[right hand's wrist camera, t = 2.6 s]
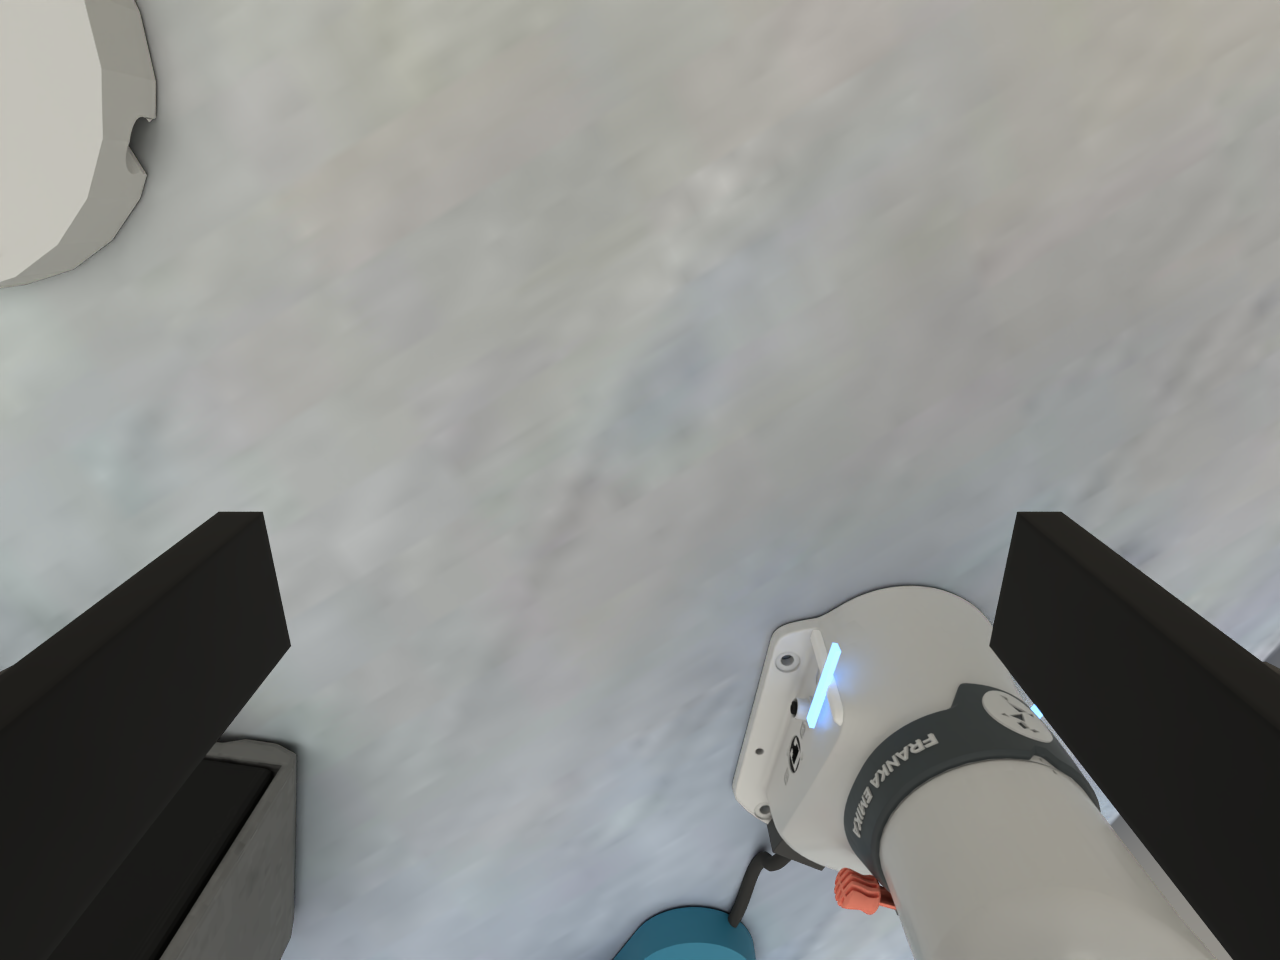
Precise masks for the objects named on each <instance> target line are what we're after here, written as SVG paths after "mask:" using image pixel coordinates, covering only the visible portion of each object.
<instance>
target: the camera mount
mask: <svg viewBox="0 0 1280 960" xmlns="http://www.w3.org/2000/svg"><path fill="white" fill-rule="evenodd" d="M728 916H729V914H727V913H724V912H722V911H718V910H715V909H710V908H702V907H686V908H678V909H673V910H669V911H666V912H663V913H661V914H658V915H656V916H654V917H653V918H651V919H649V920H648V921H646V922H645V923H644V924H643V925H641V926H640V927H639V929H638V930H637V931H636V932H635V933H634V935H633V936H632V937H631V938H630V940H629V941H628V942H627V943H626V944H625V946H624V947H623V948H622V949H621V951H620V952H619V953H618V954H617V956H616V957H615V958H614V959H613V960H756V957H755V951H754V944H753V940H752V937H751V935H750V933H749V932H748V930H747V929H746V927H745V926H744V925H743V924H742V923H741V922H740V923H739V924H738V926H737V927H736V928H734V927H732V926H731V925H730V923H729V922H728Z"/></svg>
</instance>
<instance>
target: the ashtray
mask: <svg viewBox="0 0 1280 960" xmlns="http://www.w3.org/2000/svg"><path fill="white" fill-rule="evenodd" d="M139 117H144V118H146V119H147V120H148V122H150V121H151V120H152V119H156V80H155V76H154V71H153V67H152V63H151V58H150V54H149V50H148V45H147V41H146V36H145V32H144V28H143V23H142V19H141V15H140V11H139V9H138V7H137V5H136V3H135V1H134V0H0V288H6V287H13V286H20V285H27V284H30V283H33V282H36V281H39V280H42V279H45V278H48V277H51V276H55V275H58V274H61V273H64V272H67V271H70V270H73V269H75V268H76V267H77V266H79V265H80V264H81V263H83V262H84V261H85V260H87V259H88V258H89V257H91V256H92V255H93V254H95V253H96V252H97V251H99V250H100V249H101V248H103V247H104V246H105V245H107V244H108V243H109V242H111V241H112V240H113V238H114V237H115V235H116V234H117V232H118V231H119V229H120V228H121V226H122V225H123V223H124V222H125V220H126V219H127V217H128V216H129V214H130V213H131V211H132V210H133V208H134V207H135V205H136V204H137V202H138V201H139V199H140V197H141V194H142V190H143V187H144V183H145V180H146V176H147V174H146V173H145V171H144V170H143V168H142V166H141V165H140V163H139V162H138V160H137V158H136V157H135V155H134V154H133V152H132V150H131V149H130V147H129V146H128V145H129V142H130V136H131V131H132V128H133V125H134V123H135V121H136V120H137V119H138V118H139Z"/></svg>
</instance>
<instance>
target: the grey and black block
mask: <svg viewBox="0 0 1280 960" xmlns="http://www.w3.org/2000/svg"><path fill="white" fill-rule="evenodd" d="M296 767H297V756H296V754H295V753H293V752H291V751H290V750H288V749H286V748H284V747H282V746H280V745H278V744H276V743H269V742H262V741H255V740H249V739H243V740H237V741H231V742H225V743H220V742H216V743H215V744H214V745H213V747H212V748H211V749H210V751H209V752H208V753H207V754H206V756H205V757H204V758H203V760H202V761H201V762H200V763H199V765H198V766H197V767H196V769H195V770H194V771H193V772H192V774H191V775H190V776H189V778H188V779H187V780H186V781H185V783H184V784H183V785H182V787H181V788H180V789H179V790H178V792H177V793H176V794H175V796H174V797H173V798H172V799H171V801H170V802H169V803H168V805H167V806H166V807H165V808H164V810H163V811H162V812H161V814H160V815H159V816H158V817H157V819H156V820H155V821H154V823H153V824H152V825H151V826H150V828H149V829H148V830H147V832H146V833H145V834H144V835H143V837H142V838H141V839H140V841H139V842H138V843H137V844H136V846H135V847H134V848H133V850H132V851H131V852H130V853H129V855H128V856H127V857H126V859H125V860H124V861H123V862H122V864H121V865H120V866H119V868H118V869H117V870H116V871H115V873H114V874H113V875H112V877H111V878H110V879H109V880H108V882H107V883H106V884H105V886H104V887H103V888H102V889H101V891H100V892H99V893H98V895H97V896H96V897H95V898H94V900H93V901H92V902H91V904H90V905H89V906H88V907H87V909H86V910H85V911H84V913H83V914H82V915H81V916H80V918H79V919H78V920H77V922H76V923H75V924H74V925H73V927H72V928H71V929H70V931H69V932H68V933H67V934H66V936H65V937H64V938H63V940H62V941H61V942H60V943H59V945H58V946H57V947H56V949H55V950H54V951H53V952H52V954H51V955H50V956H49V958H48V959H47V960H280V959H281V957H282V955H283V953H284V951H285V949H286V947H287V944H288V942H289V940H290V938H291V933H292V926H293V920H294V882H295V824H296Z"/></svg>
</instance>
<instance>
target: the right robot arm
mask: <svg viewBox="0 0 1280 960" xmlns="http://www.w3.org/2000/svg"><path fill="white" fill-rule="evenodd" d="M290 646H291V644H290V639H289V634H288V630H287V625H286V620H285V615H284V611H283V606H282V601H281V596H280V592H279V587H278V582H277V577H276V572H275V568H274V563H273V558H272V553H271V549H270V544H269V539H268V534H267V530H266V525H265V520H264V515H263V512H218V513H217V514H215V515H214V516H212V517H211V518H210V519H208V520H207V521H206V522H204V523H203V524H202V525H200V526H199V527H198V528H196V529H195V530H194V531H192V532H191V533H190V534H188V535H187V536H186V537H184V538H183V539H182V540H180V541H179V542H178V543H176V544H175V545H174V546H172V547H171V548H170V549H168V550H167V551H166V552H164V553H163V554H162V555H160V556H159V557H158V558H156V559H155V560H154V561H152V562H151V563H150V564H148V565H147V566H146V567H144V568H143V569H142V570H140V571H139V572H138V573H136V574H135V575H134V576H132V577H131V578H130V579H128V580H127V581H125V582H124V583H123V584H121V585H120V586H119V587H117V588H116V589H115V590H113V591H112V592H111V593H109V594H108V595H107V596H105V597H104V598H103V599H101V600H100V601H99V602H97V603H96V604H95V605H93V606H92V607H91V608H89V609H88V610H87V611H85V612H84V613H83V614H81V615H80V616H79V617H77V618H76V619H75V620H73V621H72V622H71V623H69V624H68V625H67V626H65V627H64V628H63V629H61V630H60V631H59V632H57V633H56V634H55V635H53V636H52V637H51V638H49V639H48V640H47V641H45V642H44V643H43V644H41V645H40V646H38V647H37V648H36V649H34V650H33V651H32V652H30V653H29V654H28V655H26V656H25V657H24V658H22V659H21V660H20V661H18V662H17V663H16V664H14V665H13V666H11V667H9V668H7V669H5V670H3V671H1V672H0V960H47V959H48V958H49V956H50V955H51V954H52V952H53V951H54V950H55V949H56V947H57V946H58V945H59V943H60V942H61V941H62V940H63V938H64V937H65V936H66V934H67V933H68V932H69V931H70V929H71V928H72V927H73V925H74V924H75V923H76V922H77V920H78V919H79V918H80V916H81V915H82V914H83V913H84V911H85V910H86V909H87V907H88V906H89V905H90V904H91V902H92V901H93V900H94V898H95V897H96V896H97V895H98V893H99V892H100V891H101V889H102V888H103V887H104V886H105V884H106V883H107V882H108V880H109V879H110V878H111V877H112V875H113V874H114V873H115V871H116V870H117V869H118V868H119V866H120V865H121V864H122V862H123V861H124V860H125V859H126V857H127V856H128V855H129V853H130V852H131V851H132V850H133V848H134V847H135V846H136V844H137V843H138V842H139V841H140V839H141V838H142V837H143V835H144V834H145V833H146V832H147V830H148V829H149V828H150V826H151V825H152V824H153V823H154V821H155V820H156V819H157V817H158V816H159V815H160V814H161V812H162V811H163V810H164V808H165V807H166V806H167V805H168V803H169V802H170V801H171V799H172V798H173V797H174V796H175V794H176V793H177V792H178V790H179V789H180V788H181V787H182V785H183V784H184V783H185V781H186V780H187V779H188V778H189V776H190V775H191V774H192V772H193V771H194V770H195V769H196V767H197V766H198V765H199V763H200V762H201V761H202V760H203V758H204V757H205V756H206V754H207V753H208V752H209V751H210V749H211V748H212V747H213V745H214V744H215V743H216V742H217V740H218V739H219V738H220V736H221V735H222V734H223V733H224V731H225V730H226V729H227V727H228V726H229V725H230V724H231V722H232V721H233V720H234V718H235V717H236V716H237V715H238V713H239V712H240V711H241V709H242V708H243V707H244V706H245V704H246V703H247V702H248V700H249V699H250V698H251V697H252V695H253V694H254V693H255V691H256V690H257V689H258V688H259V686H260V685H261V684H262V682H263V681H264V680H265V679H266V677H267V676H268V675H269V673H270V672H271V671H272V670H273V668H274V667H275V666H276V664H277V663H278V662H279V661H280V659H281V658H282V657H283V655H284V654H285V653H286V652H287V650H288V649H289V648H290ZM989 646H990V648H991V649H992V650H993V652H994V653H995V654H996V655H997V657H998V658H999V659H1000V661H1001V662H1002V663H1003V664H1004V666H1005V667H1006V668H1007V670H1008V671H1009V672H1010V673H1011V675H1012V676H1013V677H1014V679H1015V680H1016V681H1017V682H1018V684H1019V685H1020V686H1021V688H1022V689H1023V690H1024V691H1025V693H1026V694H1027V695H1028V697H1029V698H1030V699H1031V700H1032V702H1033V703H1034V704H1035V706H1036V707H1037V708H1038V709H1039V711H1040V712H1041V713H1042V715H1043V716H1044V717H1045V718H1046V720H1047V721H1048V722H1049V724H1050V725H1051V726H1052V727H1053V729H1054V730H1055V731H1056V733H1057V734H1058V735H1059V736H1060V738H1061V739H1062V740H1063V742H1064V743H1065V744H1066V745H1067V747H1068V748H1069V749H1070V751H1071V752H1072V753H1073V754H1074V756H1075V757H1076V758H1077V760H1078V761H1079V762H1080V763H1081V765H1082V766H1083V767H1084V769H1085V770H1086V771H1087V772H1088V774H1089V775H1090V776H1091V778H1092V779H1093V780H1094V781H1095V783H1096V784H1097V785H1098V787H1099V788H1100V789H1101V790H1102V792H1103V793H1104V794H1105V796H1106V797H1107V798H1108V799H1109V801H1110V802H1111V803H1112V805H1113V806H1114V807H1115V808H1116V810H1117V811H1118V812H1119V814H1120V815H1121V816H1122V817H1123V819H1124V820H1125V821H1126V823H1127V824H1128V825H1129V826H1130V828H1131V829H1132V830H1133V832H1134V833H1135V834H1136V835H1137V837H1138V838H1139V839H1140V841H1141V842H1142V843H1143V844H1144V846H1145V847H1146V848H1147V850H1148V851H1149V852H1150V853H1151V855H1152V856H1153V857H1154V859H1155V860H1156V861H1157V862H1158V864H1159V865H1160V866H1161V868H1162V869H1163V870H1164V871H1165V873H1166V874H1167V875H1168V877H1169V878H1170V879H1171V880H1172V882H1173V883H1174V884H1175V886H1176V887H1177V888H1178V889H1179V891H1180V892H1181V893H1182V895H1183V896H1184V897H1185V898H1186V900H1187V901H1188V902H1189V904H1190V905H1191V906H1192V907H1193V909H1194V910H1195V911H1196V913H1197V914H1198V915H1199V916H1200V918H1201V919H1202V920H1203V922H1204V923H1205V924H1206V925H1207V927H1208V928H1209V929H1210V931H1211V932H1212V933H1213V934H1214V936H1215V937H1216V938H1217V940H1218V941H1219V942H1220V943H1221V945H1222V946H1223V947H1224V949H1225V950H1226V951H1227V952H1228V954H1229V955H1230V956H1231V958H1232V959H1233V960H1280V669H1279V668H1277V667H1275V666H1273V665H1271V664H1269V663H1267V662H1262V661H1260V660H1259V659H1258V658H1256V657H1255V656H1254V655H1252V654H1251V653H1250V652H1248V651H1247V650H1246V649H1244V648H1243V647H1242V646H1240V645H1239V644H1237V643H1236V642H1235V641H1233V640H1232V639H1231V638H1229V637H1228V636H1227V635H1225V634H1224V633H1223V632H1221V631H1220V630H1219V629H1217V628H1216V627H1215V626H1213V625H1212V624H1211V623H1209V622H1208V621H1207V620H1205V619H1204V618H1203V617H1201V616H1200V615H1199V614H1197V613H1196V612H1195V611H1193V610H1192V609H1191V608H1189V607H1188V606H1187V605H1185V604H1184V603H1183V602H1181V601H1180V600H1179V599H1177V598H1176V597H1175V596H1173V595H1172V594H1171V593H1169V592H1168V591H1167V590H1165V589H1164V588H1163V587H1161V586H1160V585H1159V584H1157V583H1156V582H1155V581H1153V580H1152V579H1150V578H1149V577H1148V576H1146V575H1145V574H1144V573H1142V572H1141V571H1140V570H1138V569H1137V568H1136V567H1134V566H1133V565H1132V564H1130V563H1129V562H1128V561H1126V560H1125V559H1124V558H1122V557H1121V556H1120V555H1118V554H1117V553H1116V552H1114V551H1113V550H1112V549H1110V548H1109V547H1108V546H1106V545H1105V544H1104V543H1102V542H1101V541H1100V540H1098V539H1097V538H1096V537H1094V536H1093V535H1092V534H1090V533H1089V532H1088V531H1086V530H1085V529H1084V528H1082V527H1081V526H1080V525H1078V524H1077V523H1076V522H1074V521H1073V520H1072V519H1070V518H1069V517H1068V516H1066V515H1065V514H1063V513H1062V512H1017V515H1016V520H1015V525H1014V530H1013V534H1012V539H1011V544H1010V549H1009V553H1008V558H1007V563H1006V568H1005V572H1004V577H1003V582H1002V587H1001V592H1000V596H999V601H998V606H997V611H996V615H995V620H994V625H993V630H992V634H991V639H990V644H989Z"/></svg>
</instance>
